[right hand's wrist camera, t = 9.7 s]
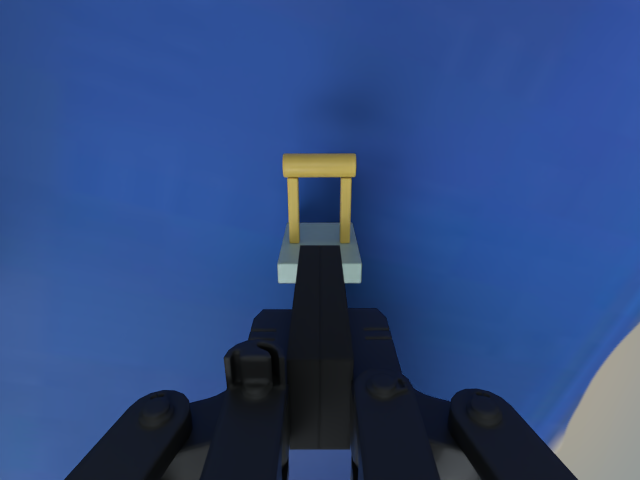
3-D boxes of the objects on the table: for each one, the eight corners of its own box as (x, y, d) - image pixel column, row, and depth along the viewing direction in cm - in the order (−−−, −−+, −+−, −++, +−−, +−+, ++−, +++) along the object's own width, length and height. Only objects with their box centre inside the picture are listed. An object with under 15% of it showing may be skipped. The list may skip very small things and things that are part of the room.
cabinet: (284, 332, 31) (272, 416, 24) (355, 332, 31) (367, 416, 24) (291, 498, 39) (284, 604, 31) (349, 498, 39) (357, 604, 31)
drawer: (284, 144, 25) (272, 164, 19) (354, 144, 25) (366, 164, 19) (293, 422, 34) (288, 497, 28) (346, 422, 34) (352, 497, 28)
